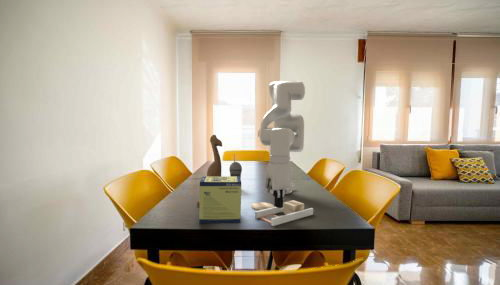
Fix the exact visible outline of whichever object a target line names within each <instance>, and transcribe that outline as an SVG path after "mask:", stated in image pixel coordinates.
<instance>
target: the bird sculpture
mask: <svg viewBox="0 0 500 285" xmlns="http://www.w3.org/2000/svg"><path fill="white" fill-rule="evenodd" d="M209 142H210V145H211V148H212V154H213V161H212V162H211V164H209V166H208V167H207V170H206V176H208V177H222V160H221V156H220V152H219V150H218V147H223V142H222V140H221V139H219V138H218V137H217V135H216V134H213V135H211V136H210V138H209ZM196 205H197V207H199V200H197V201H196Z"/></svg>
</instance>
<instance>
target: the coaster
mask: <svg viewBox="0 0 500 285" xmlns="http://www.w3.org/2000/svg"><path fill="white" fill-rule="evenodd" d="M250 206H251V207H250V208H252V209H253V210H255V211H259V210H264V209H268V208H272V207H275V206H274V204H272V203H270V202H265V201H264V202H262V201H261V202H254V203H252V204H251V205H250Z"/></svg>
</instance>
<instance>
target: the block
mask: <svg viewBox="0 0 500 285" xmlns="http://www.w3.org/2000/svg"><path fill="white" fill-rule="evenodd" d="M301 210H305V203H303V202H300V201H297V200H294V199H293V200H288V201H285V202H284V201H283V212H282V213H283V215H286V214H290V213H294V212H297V211H301Z"/></svg>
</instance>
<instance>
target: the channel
mask: <svg viewBox="0 0 500 285" xmlns="http://www.w3.org/2000/svg"><path fill="white" fill-rule="evenodd" d="M254 212H255V213H254V214H255V219H260V218H259V217H263V216H267V215H271V214H274V215H276V214H280V213H283V207H282V208H278V207H275V206H274V207H272V208H268V209H264V210H255V211H254ZM313 215H314V208H313V207H310V208H309V207H308V208H306V209H305V208H304V210H301V211H297V212H294V213H290V214H283V215H278V216H279V217H275V218H271V223H270V224H271V225H270V226H272V227H275V226H278V225H281V224H282V225H283V224H286V223H288V222H291V221H296V220H299V219H302V218H305V217H309V216H313Z"/></svg>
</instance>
